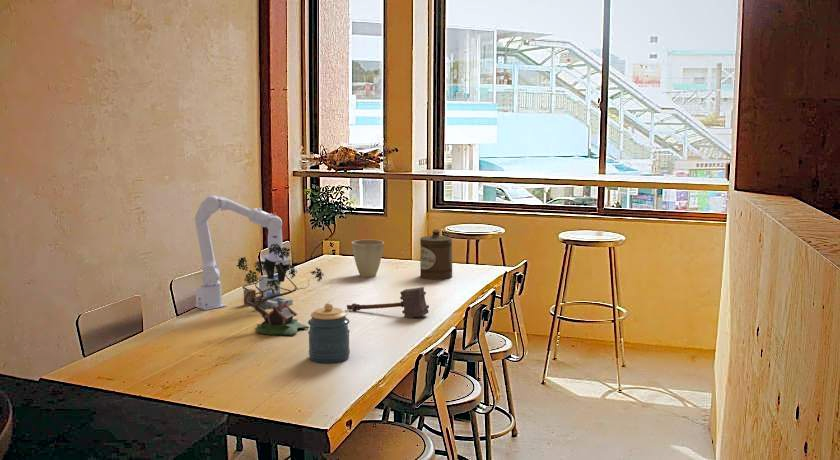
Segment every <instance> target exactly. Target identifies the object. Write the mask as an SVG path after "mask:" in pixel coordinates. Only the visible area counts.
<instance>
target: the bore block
mask: <svg viewBox="0 0 840 460" xmlns="http://www.w3.org/2000/svg"><path fill="white" fill-rule="evenodd" d="M286 300H287V301H288V303H287V305H288V306H293V304H294V303H293V302H294V301H293V299H291V298H288V297H284V296H279V297H276V298H273V299H270V300H267V308H271V309H273V306H274V307H275V306H276V307H278V303H277V301H283V303H282V305H283V304H284V303H285V302H286Z"/></svg>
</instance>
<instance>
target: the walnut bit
mask: <svg viewBox="0 0 840 460" xmlns="http://www.w3.org/2000/svg"><path fill="white" fill-rule="evenodd" d="M247 289H248V290H249V291H250V294H249V296H248V297H247V299H246V300H247V301H248V302H250V301H252V299H253V298H254V297H255V298H257V295H255V296H254V297H253V295H254V294H256V293H257V291H256V289H253V288H247ZM247 293H248V291H247V290H245V289H243V299H244V298H245V296H246V295H247ZM255 300H256V299H255ZM255 300H254V301H255ZM256 301H257V300H256ZM256 301H255V302H256ZM255 302H251V303H252V304H253V303H255ZM243 306H247V307H250V305H248V304H247V303H246V302H245V301H244V300H243Z"/></svg>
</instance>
